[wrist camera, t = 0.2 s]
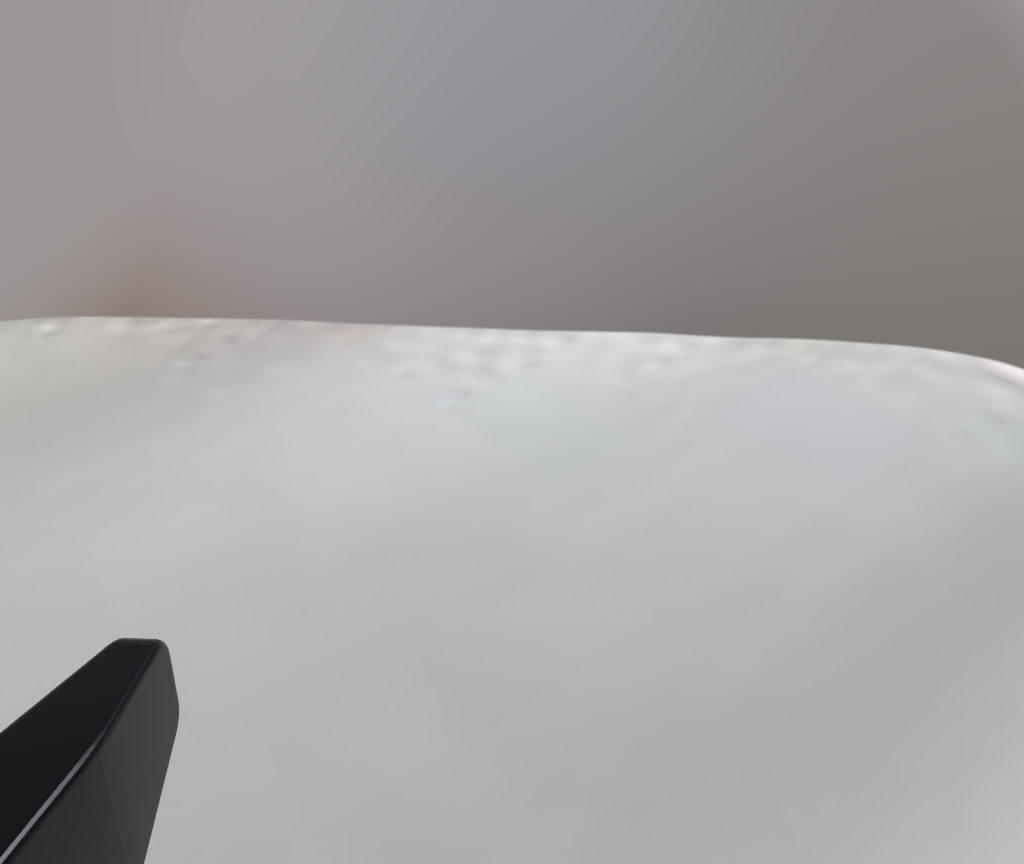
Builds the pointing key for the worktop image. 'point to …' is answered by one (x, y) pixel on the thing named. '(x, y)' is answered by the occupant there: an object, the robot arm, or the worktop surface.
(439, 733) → the worktop surface
